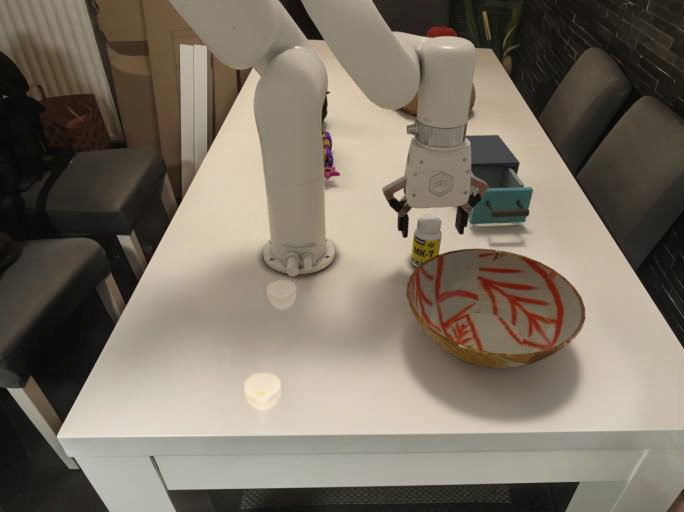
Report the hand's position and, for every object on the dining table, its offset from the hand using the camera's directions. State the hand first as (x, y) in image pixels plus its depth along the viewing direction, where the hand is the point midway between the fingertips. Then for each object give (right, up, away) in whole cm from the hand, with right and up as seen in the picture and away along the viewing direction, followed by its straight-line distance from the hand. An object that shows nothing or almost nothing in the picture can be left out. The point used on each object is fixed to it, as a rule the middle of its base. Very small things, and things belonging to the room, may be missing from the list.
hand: (431, 232), depth 93 cm
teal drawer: (+14, +7, +17) cm, 23 cm away
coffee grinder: (-28, +38, +49) cm, 68 cm away
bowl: (+7, -18, -10) cm, 22 cm away
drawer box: (+12, +15, +27) cm, 33 cm away
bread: (+6, +49, +64) cm, 81 cm away
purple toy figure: (-25, +22, +32) cm, 47 cm away
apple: (+13, +80, +98) cm, 127 cm away
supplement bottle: (-1, -5, +4) cm, 6 cm away
